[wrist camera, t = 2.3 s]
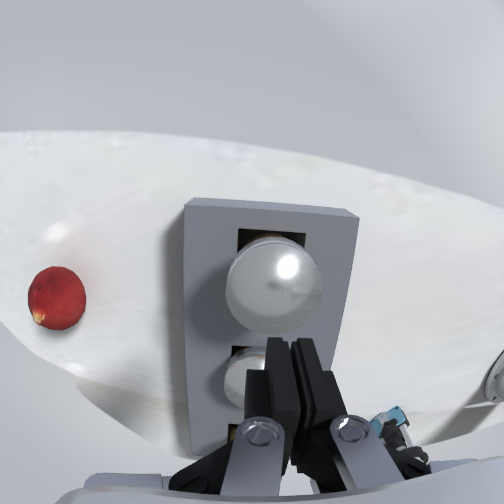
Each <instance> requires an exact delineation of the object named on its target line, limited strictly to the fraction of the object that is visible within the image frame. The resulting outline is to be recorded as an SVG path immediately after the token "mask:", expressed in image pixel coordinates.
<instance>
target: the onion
mask: <svg viewBox="0 0 504 504" xmlns="http://www.w3.org/2000/svg"><path fill="white" fill-rule="evenodd" d="M28 306H29V309H30V312H31V314H32V316H33V320H34V321H35V322H36V323H37V324H38V325H39V326H40V325H41V326H43V327H46V328H48V329H51V330H65V329H67V328H69V327H71V326H73V325H75V324H76V323H77V322H78V321H79V319H80V318H81V316H82V315H83V313H84V311H85V306H86V294H85V289H84V286H83V284H82V282H81V280H80V278H79V277H78V276H77V275H76V274H75V273H74V272H73V271H71V270H69V269H67V268H64V267H55V266H52V267H49V268H47V269H45V270H43V271H41V272H39V273H38V274H37V275H36V276H35V278H34V280H33V282H32V283H31V285H30V288H29V291H28Z"/></svg>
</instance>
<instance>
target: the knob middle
mask: <svg viewBox="0 0 504 504" xmlns="http://www.w3.org/2000/svg"><path fill="white" fill-rule="evenodd" d="M265 355H266V347H264V346H256V347H252V346H235V355H234V356H233V357H232V358H231V359H230V360H229V362H228V364H227V366H226V372H225V381H224V390H225V394H226V396H227V397H228V399H229V400H230V401H231V402H232V403H233V404H235V405H236V406H238V407H240V408H242V409H244V399H245V382H246V371H247V369H257V370H264V363H265Z"/></svg>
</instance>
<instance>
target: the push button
mask: <svg viewBox="0 0 504 504" xmlns="http://www.w3.org/2000/svg"><path fill="white" fill-rule="evenodd" d="M370 424H371V425H372V427H373V429H374V430H375V432H376V433H377V435H378V437H379V438H380V440H381V442H382V443H384V444H386V445H388V446H390V447H392V448H394V449H396V450H398V451H401V452H403V453H405V454H407V455H409V456H412V457H414V458H416V459H418V460H420V461H422V462H424V463H425V464H426V463H427V462H428V455H427V453H425V452H423V450H422V448H421V447H418V446H414V444H413V442H412V440H411V438H410V436H409V434H408V432H407V430H406V429H407V428H408V426H409V422H408V420H407V418H406V416H405V414H404V413H403V411H402V410H401V409H400V407H399V406H395V407H394V408H393V409H391V410H390V411H388V412H386V413H385V412H383V413H381V414H380V415H378V418H377V419H375V420H374V421H372V422H371V423H370ZM405 441H406V443H407V445H408V447H407V446H406V443H405Z"/></svg>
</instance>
